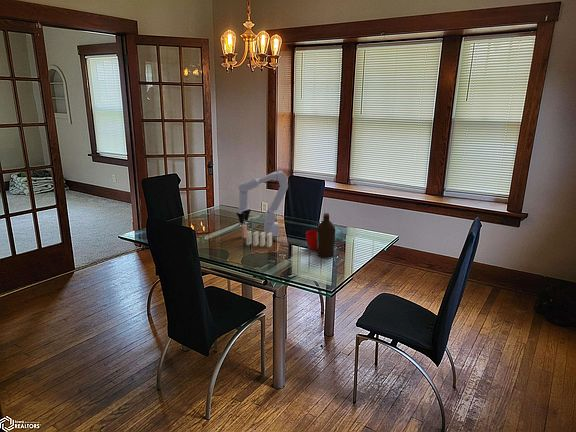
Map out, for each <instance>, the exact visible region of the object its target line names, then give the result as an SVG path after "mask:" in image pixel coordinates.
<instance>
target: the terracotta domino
mask: <svg viewBox="0 0 576 432" xmlns="http://www.w3.org/2000/svg"><path fill="white" fill-rule="evenodd" d="M247 232H248V226H247V224H244V223H243V225H241V239H246V233H247Z"/></svg>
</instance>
